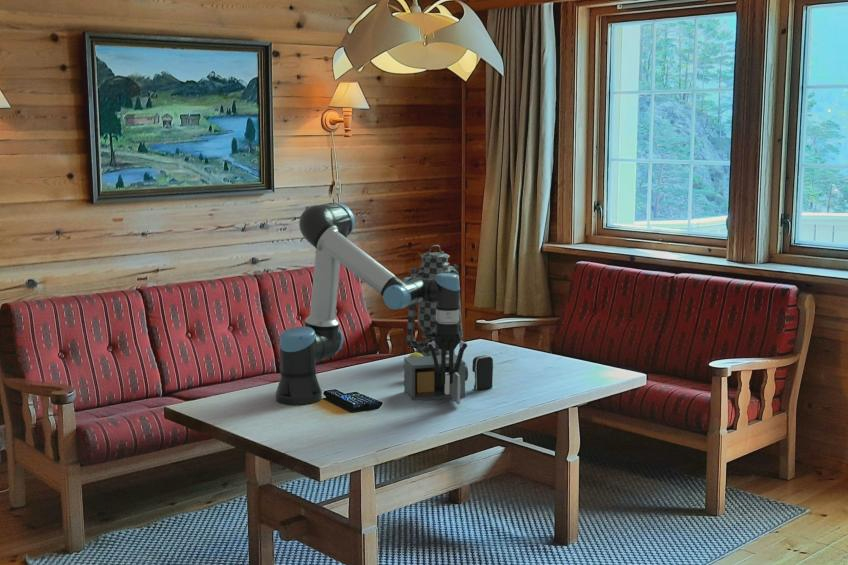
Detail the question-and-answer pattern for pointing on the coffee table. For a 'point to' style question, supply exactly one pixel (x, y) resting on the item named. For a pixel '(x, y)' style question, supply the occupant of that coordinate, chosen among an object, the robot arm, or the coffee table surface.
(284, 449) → the coffee table surface
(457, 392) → the cabinet door
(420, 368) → the small grey cabinet
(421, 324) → the lantern
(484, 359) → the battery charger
